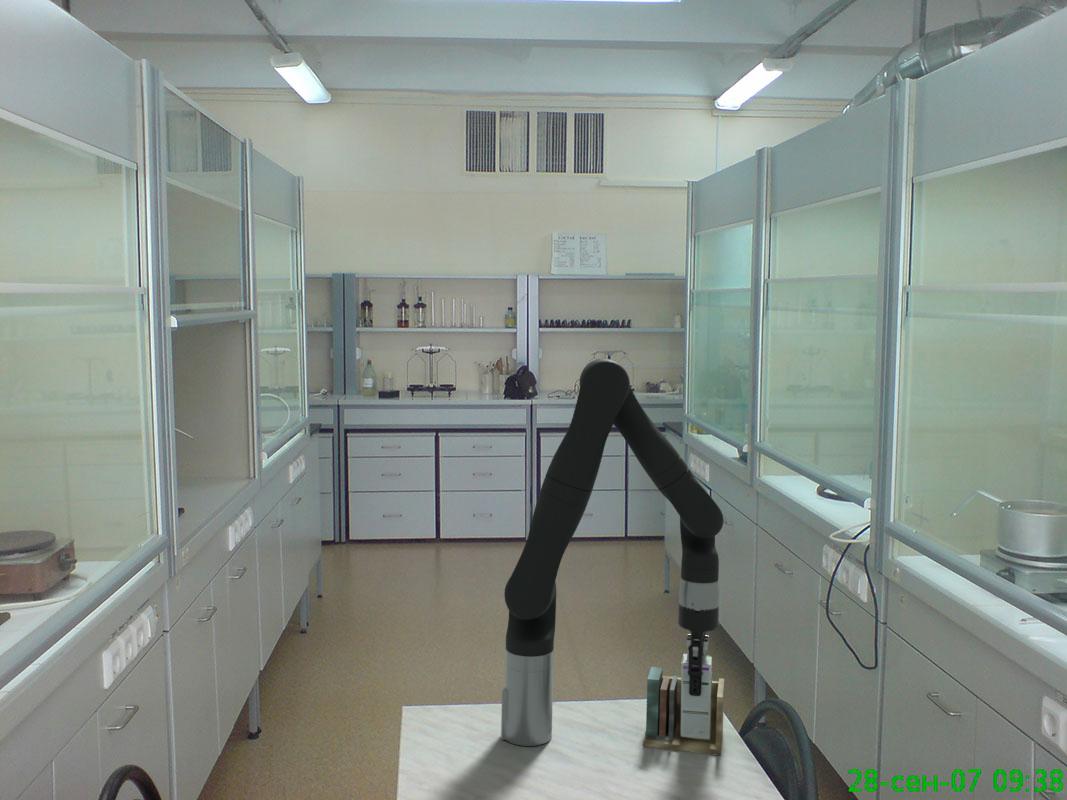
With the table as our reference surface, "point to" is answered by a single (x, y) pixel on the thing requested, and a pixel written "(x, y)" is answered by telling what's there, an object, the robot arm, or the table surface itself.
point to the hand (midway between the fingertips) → (696, 688)
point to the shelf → (678, 716)
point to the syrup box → (696, 702)
